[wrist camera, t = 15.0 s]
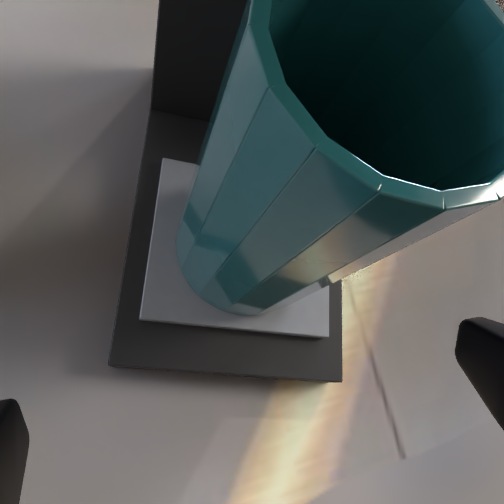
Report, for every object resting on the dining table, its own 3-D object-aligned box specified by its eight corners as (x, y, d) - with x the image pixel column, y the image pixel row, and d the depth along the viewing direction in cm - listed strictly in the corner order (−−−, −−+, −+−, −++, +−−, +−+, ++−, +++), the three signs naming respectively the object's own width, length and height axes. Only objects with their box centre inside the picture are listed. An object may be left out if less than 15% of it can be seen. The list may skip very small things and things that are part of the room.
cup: (326, 299, 21) (594, 183, 9) (193, 331, 18) (312, 234, 7) (288, 176, 22) (474, -64, 10) (161, 192, 20) (212, -91, 8)
